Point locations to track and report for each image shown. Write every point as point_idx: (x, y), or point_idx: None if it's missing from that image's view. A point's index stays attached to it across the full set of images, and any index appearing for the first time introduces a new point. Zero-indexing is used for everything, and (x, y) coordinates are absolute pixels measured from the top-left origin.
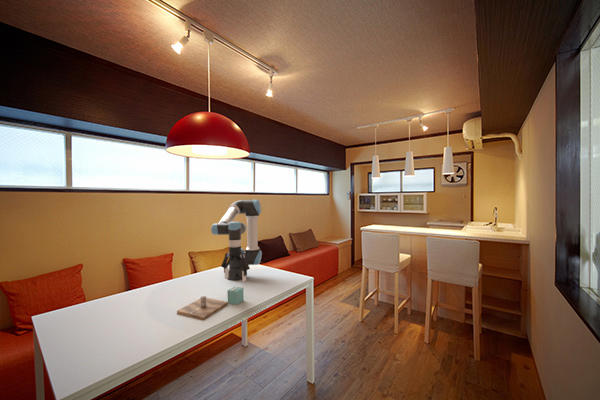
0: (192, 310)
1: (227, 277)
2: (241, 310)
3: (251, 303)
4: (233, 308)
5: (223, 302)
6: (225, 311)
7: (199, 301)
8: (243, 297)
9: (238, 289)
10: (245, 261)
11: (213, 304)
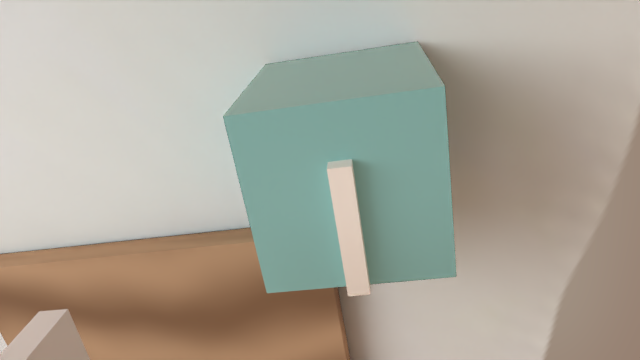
0: None
1: (72, 354)
2: (567, 246)
3: (583, 55)
4: None
5: None
6: (420, 323)
7: None
8: (422, 50)
9: (409, 190)
10: None
11: (236, 336)
